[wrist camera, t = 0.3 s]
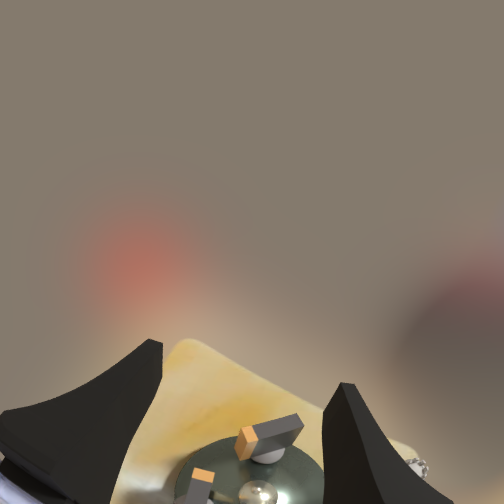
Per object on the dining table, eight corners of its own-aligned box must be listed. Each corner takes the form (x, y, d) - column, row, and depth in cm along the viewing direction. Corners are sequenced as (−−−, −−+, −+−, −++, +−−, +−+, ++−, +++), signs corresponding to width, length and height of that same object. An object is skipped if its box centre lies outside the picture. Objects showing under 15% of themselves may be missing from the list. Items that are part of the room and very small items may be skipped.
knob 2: (279, 426, 29) (291, 403, 27) (295, 455, 26) (310, 435, 23) (229, 439, 26) (236, 417, 24) (243, 471, 23) (253, 453, 21)
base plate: (325, 568, 14) (335, 566, 13) (157, 546, 15) (154, 544, 14) (329, 449, 28) (337, 440, 27) (195, 426, 28) (196, 415, 27)
